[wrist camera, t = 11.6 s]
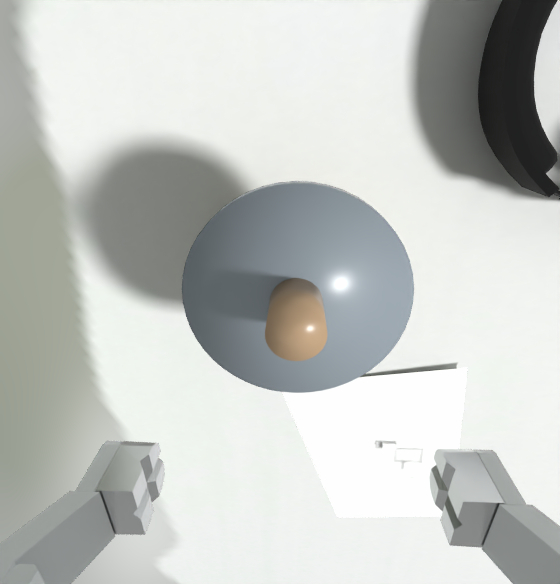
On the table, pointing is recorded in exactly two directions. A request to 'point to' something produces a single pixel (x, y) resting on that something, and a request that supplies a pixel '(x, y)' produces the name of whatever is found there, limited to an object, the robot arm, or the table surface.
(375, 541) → the table surface
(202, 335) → the lid
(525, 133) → the headphones
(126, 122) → the table surface
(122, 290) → the table surface
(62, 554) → the robot arm
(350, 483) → the paper sheet
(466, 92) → the table surface
